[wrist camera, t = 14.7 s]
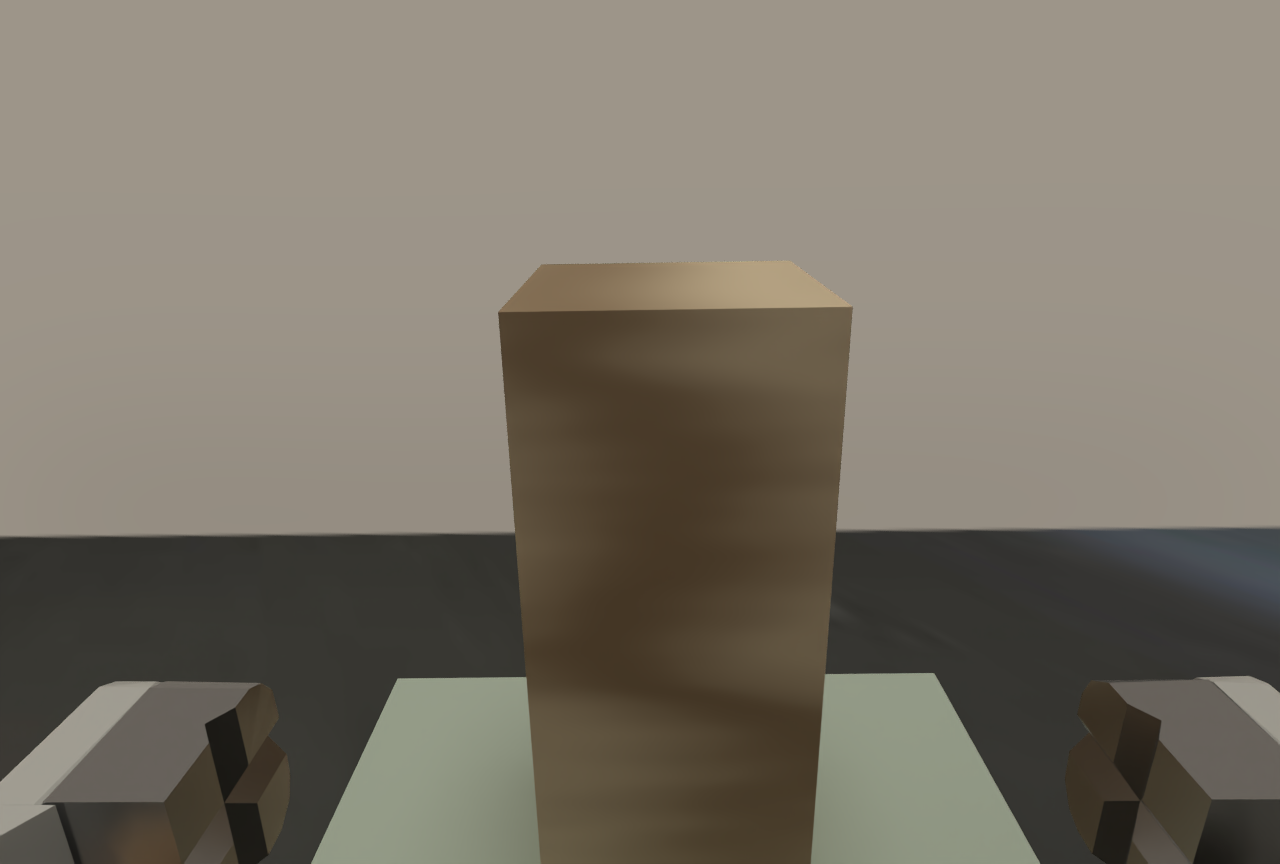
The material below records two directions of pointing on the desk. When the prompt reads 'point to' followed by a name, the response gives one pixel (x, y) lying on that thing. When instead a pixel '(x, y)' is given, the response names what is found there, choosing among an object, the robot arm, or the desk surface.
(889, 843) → the mat
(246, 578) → the desk surface
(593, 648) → the oak block
